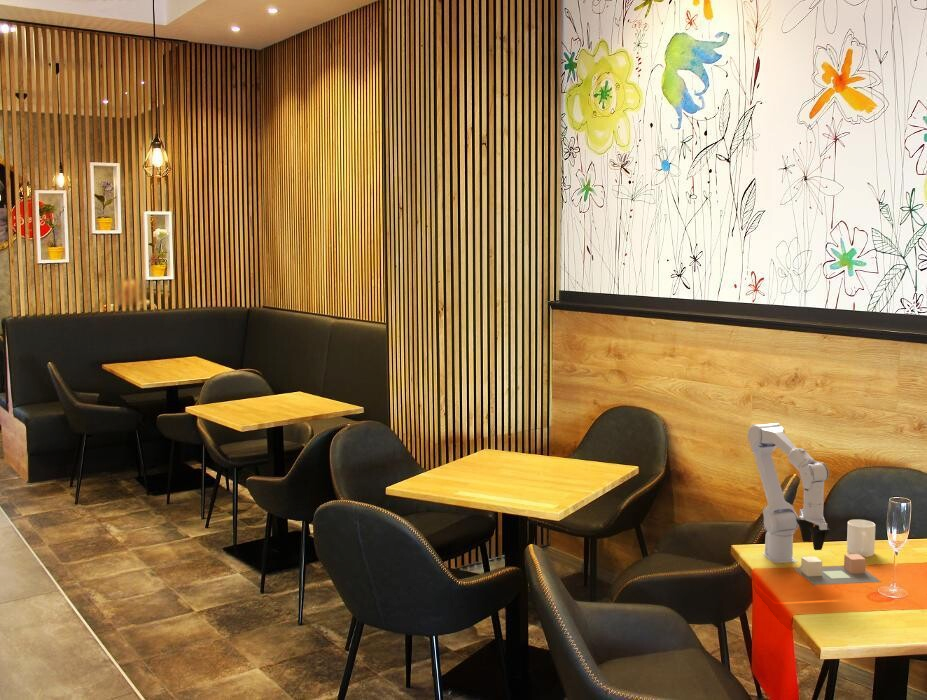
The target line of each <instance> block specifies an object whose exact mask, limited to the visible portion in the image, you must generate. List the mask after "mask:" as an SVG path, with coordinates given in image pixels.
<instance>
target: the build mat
mask: <svg viewBox="0 0 927 700" xmlns="http://www.w3.org/2000/svg"><path fill="white" fill-rule="evenodd" d="M792 569H793V570H794V571H796V572H797V573H798V574H799V575H801V576H802V577H803V578H804V579H806V580H807V581H808V582H809V583H810V584H812V585H813V586H815V585H816V586H818V585H819V586H822V585H823V586H824V585H842V584H843V585H845V584H864V583H881V582H882V581H881V580H880V579H879V578H877V577H876V576H874V574H871V573H870V572H869V571H868V570H866V569H865V573H857V574H851V573H849V572H848V571H847V570H845V569H844V565H837V566H836V565H835V566H833V565H832V566H822V576H806V575H805V574H804V573H803V572H801V567H794V568H792Z"/></svg>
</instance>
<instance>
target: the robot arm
mask: <svg viewBox="0 0 927 700" xmlns="http://www.w3.org/2000/svg"><path fill="white" fill-rule="evenodd" d="M747 438H748V442H749V446H750V449H751V452H753V456H754V460H755V462H756V463H755V464H756V467H757V471H758V474H759V477H760V481H761V484H762V487H763V491H764V494H765V497H766V502H767V505H766V507H765V508H764V509H763V511H762V516H763V525H764V527H765V528H764V529H765V530H766V533H765V537H764V540H765V541H764V552H761V553H762V554H763V555H764V556H765V557H766V558H767V559H768V560H770V561H771V562H772V563H775V564H777V563H798V560H797V559H796V558H794V557H793V555H794V554H793V552H794V551H793V550H794V547H793V546H794V541H793V540H794V534H796V530H798V528H799V530H800V534H801V538H802V542H804V543H806V542H807V543H808V542H809V543H810V542H811V541H812V545H813V550H814V551H822V549H823V546H824V542H825V540H826V539H827V536H828V535H829V533H830V532H831V529H830V528H829V526H828V523H827V522H826V520H825V517H824V504H825V503H824V497H825V482H826V481H828V479H829V475H830V471H829V468H828V466H827V465H826V464H825V462H823V461H822V462H821V461H816V460H815V459H814V458H813V457H812V456H811V455H810V454H809V453H808V452H807V451H806V450H805V448H802V447H796V445H795V444H794V443H793V442H792V441H791V440H790V438H789V437H788V436H787V435H786V433H785V428H784V427H783V426H782V425H781V424H780V423H779V422H772V423H764V424H752V425H750V426H749V428H748V433H747ZM777 448H778V449H780V450H781V451H782V452H783V453H784V454H786V455H787V456H788V457H787V460H788V462H789V463H790V464H791V465H792V466H793V467H794V468H795V470H797V471H798V472H799V476H800V479H801V481H802V482H801V485H802V488H803V505H802V509H799V513H798V514H799V515H798V514H797V512H796V511H795V508H794V505H792V504H791V503H789V502H788V501H786V499H785V497H784V493H783V490H782V486H781V483H780V479H779V476H778V473H777V469H776V466H775V463H774V459H773V455H772V453H773V451H775V450H776V449H777Z"/></svg>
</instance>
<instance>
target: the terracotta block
mask: <svg viewBox="0 0 927 700" xmlns="http://www.w3.org/2000/svg"><path fill="white" fill-rule="evenodd" d="M843 558H844V559H843V566H844V569H845V570H847V571H848V572H849V573H851V574H857V573H865V570H866V568H867V567H866V566H867V565H866V561H867V559H866V557H862V556H861V555H859V554H849V553H848V554H844V556H843Z"/></svg>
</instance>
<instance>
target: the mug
mask: <svg viewBox="0 0 927 700" xmlns="http://www.w3.org/2000/svg"><path fill="white" fill-rule="evenodd" d="M846 531H847V533H846V534H847V537H846V552H847V553H848V554H859V555H861V556H862V557H864V558H867V557H872V556H874V554H875V550H876V549H875V547H876V546H875V545H876V524H875V523H874V522H873V521H871V520H866V519H850V520H848V521H847V530H846Z"/></svg>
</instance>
